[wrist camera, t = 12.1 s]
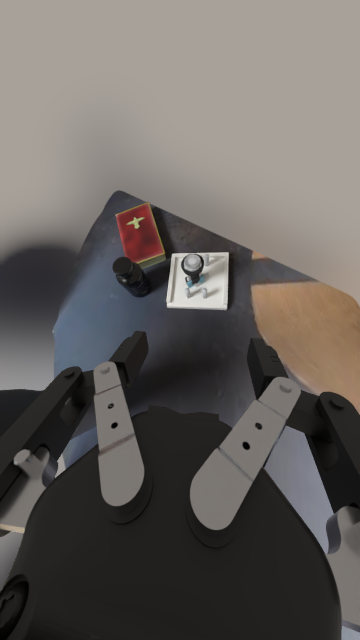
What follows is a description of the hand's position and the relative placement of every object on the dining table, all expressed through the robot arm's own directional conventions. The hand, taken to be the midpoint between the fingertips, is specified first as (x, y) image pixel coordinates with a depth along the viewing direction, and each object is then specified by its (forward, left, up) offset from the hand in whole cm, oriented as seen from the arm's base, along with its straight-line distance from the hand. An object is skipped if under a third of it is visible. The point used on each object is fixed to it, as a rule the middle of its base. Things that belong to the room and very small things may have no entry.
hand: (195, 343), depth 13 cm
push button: (-3, +21, -30) cm, 37 cm away
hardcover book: (-22, +36, -32) cm, 53 cm away
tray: (-3, +22, -31) cm, 38 cm away
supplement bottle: (-20, +20, -32) cm, 42 cm away
